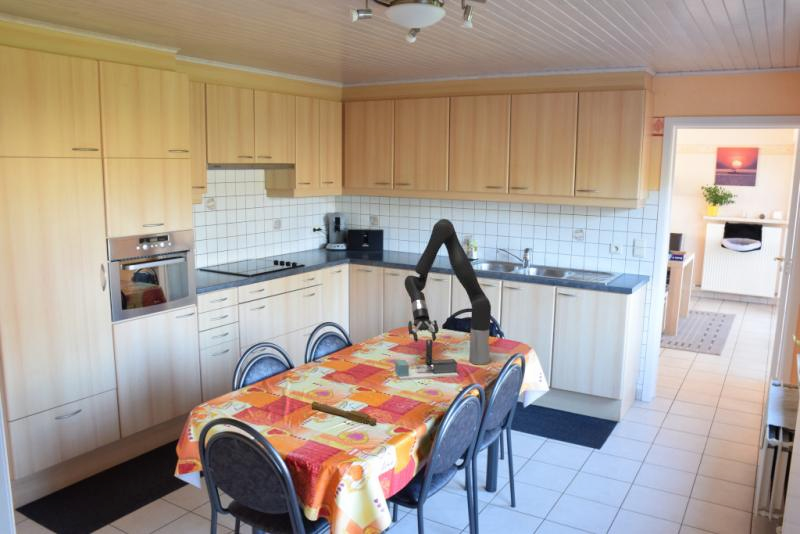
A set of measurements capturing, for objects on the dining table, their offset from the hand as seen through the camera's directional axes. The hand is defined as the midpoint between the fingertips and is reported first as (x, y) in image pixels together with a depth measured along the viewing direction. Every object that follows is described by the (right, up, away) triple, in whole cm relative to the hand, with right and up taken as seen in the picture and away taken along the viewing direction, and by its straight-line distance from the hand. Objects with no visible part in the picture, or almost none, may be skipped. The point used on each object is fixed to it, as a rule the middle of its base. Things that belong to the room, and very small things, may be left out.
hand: (425, 340), depth 304 cm
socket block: (-11, -15, -7) cm, 20 cm away
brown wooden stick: (-34, -23, -55) cm, 68 cm away
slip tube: (+4, -14, -3) cm, 14 cm away
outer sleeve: (+8, -15, -2) cm, 17 cm away
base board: (0, -15, -4) cm, 16 cm away
